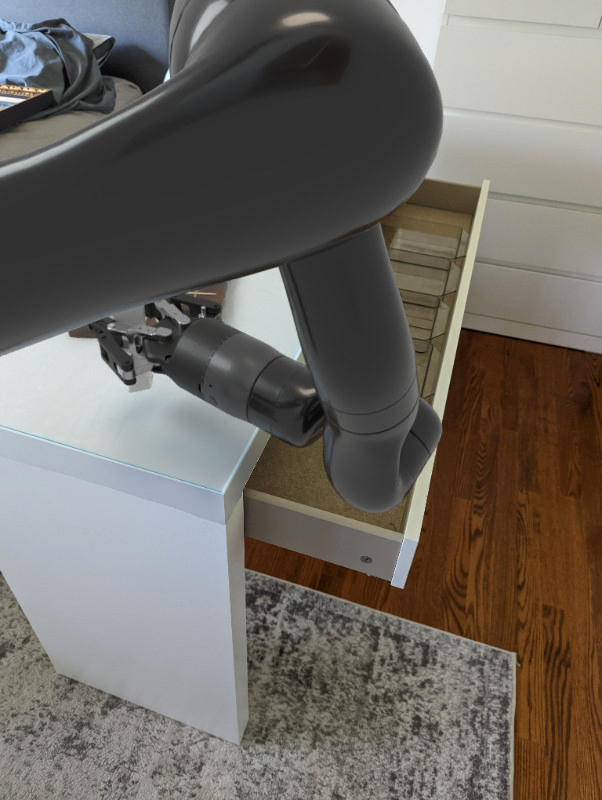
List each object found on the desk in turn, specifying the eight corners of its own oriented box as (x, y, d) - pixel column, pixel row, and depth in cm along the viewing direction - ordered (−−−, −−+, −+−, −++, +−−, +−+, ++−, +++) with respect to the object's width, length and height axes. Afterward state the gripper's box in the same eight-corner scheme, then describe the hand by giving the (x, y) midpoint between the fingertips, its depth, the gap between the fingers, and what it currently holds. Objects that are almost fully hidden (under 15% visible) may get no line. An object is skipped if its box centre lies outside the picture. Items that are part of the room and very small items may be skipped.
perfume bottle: (138, 400, 65) (117, 281, 55) (109, 385, 66) (83, 267, 56) (166, 379, 68) (151, 262, 58) (138, 365, 69) (118, 249, 59)
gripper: (279, 305, 57) (154, 250, 64) (175, 378, 48) (43, 305, 55) (277, 365, 62) (161, 308, 69) (182, 441, 53) (60, 367, 60)
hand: (109, 307), depth 62 cm, fingers closed on perfume bottle, 4 cm apart
